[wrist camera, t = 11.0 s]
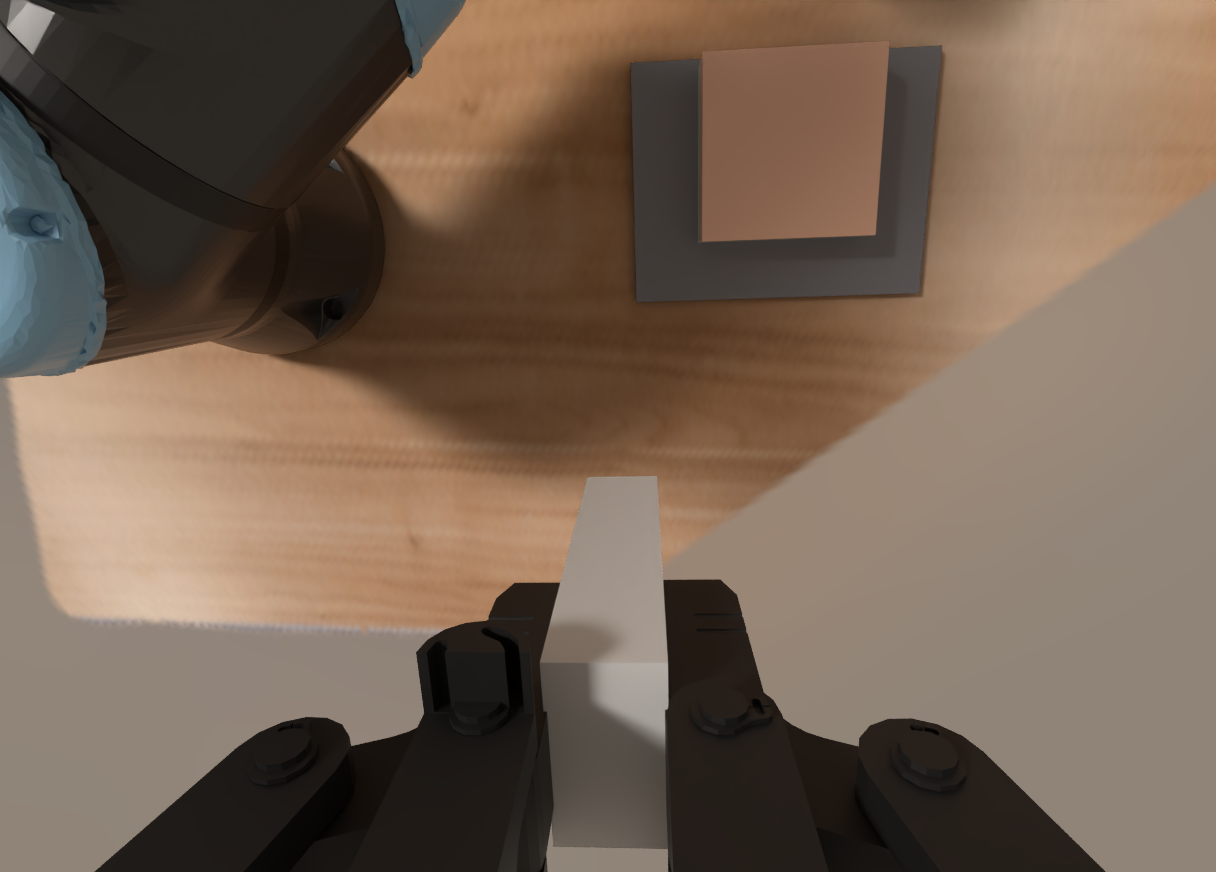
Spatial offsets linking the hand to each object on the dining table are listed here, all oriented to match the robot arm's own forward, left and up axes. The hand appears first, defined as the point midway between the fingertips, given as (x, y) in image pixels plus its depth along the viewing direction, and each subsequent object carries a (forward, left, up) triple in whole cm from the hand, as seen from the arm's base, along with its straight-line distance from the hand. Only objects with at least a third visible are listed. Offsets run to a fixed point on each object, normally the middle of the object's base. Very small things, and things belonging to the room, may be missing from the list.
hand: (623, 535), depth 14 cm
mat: (+9, +10, -30) cm, 33 cm away
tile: (+9, +7, -28) cm, 30 cm away
